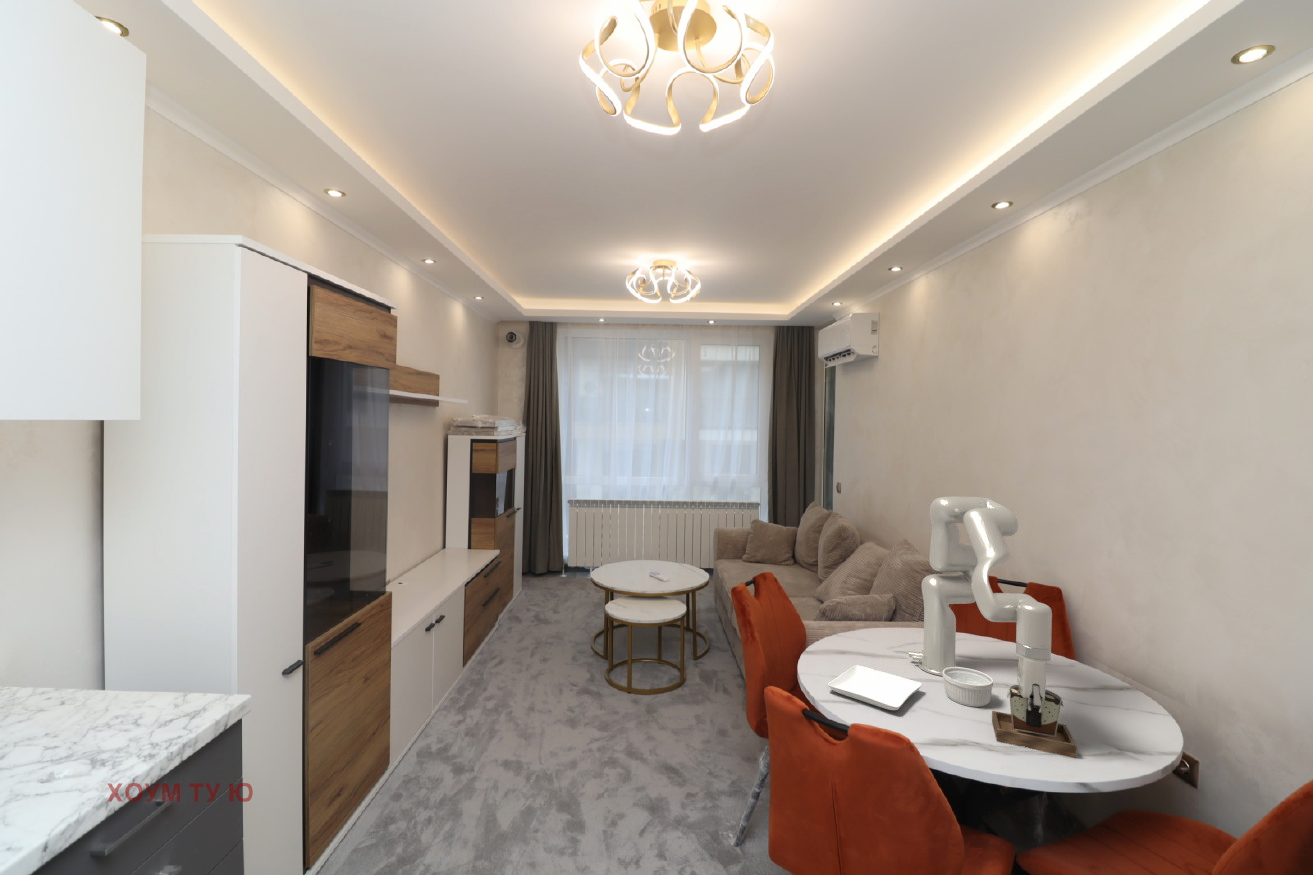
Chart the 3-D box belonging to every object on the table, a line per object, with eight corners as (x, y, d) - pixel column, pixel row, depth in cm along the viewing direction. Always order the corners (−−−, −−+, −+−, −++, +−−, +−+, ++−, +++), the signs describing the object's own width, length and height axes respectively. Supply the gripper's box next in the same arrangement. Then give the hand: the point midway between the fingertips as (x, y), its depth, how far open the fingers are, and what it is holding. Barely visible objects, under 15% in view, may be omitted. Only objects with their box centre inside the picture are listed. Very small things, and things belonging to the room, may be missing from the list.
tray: (996, 741, 144) (997, 729, 144) (991, 721, 154) (992, 710, 154) (1076, 758, 137) (1076, 745, 137) (1065, 736, 147) (1065, 724, 147)
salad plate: (825, 694, 169) (825, 683, 169) (855, 673, 185) (855, 662, 185) (897, 719, 155) (898, 707, 155) (923, 694, 171) (923, 683, 171)
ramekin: (932, 693, 171) (932, 670, 171) (962, 686, 176) (963, 663, 176) (971, 713, 159) (972, 688, 159) (1003, 705, 164) (1003, 681, 164)
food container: (1054, 726, 147) (1055, 688, 147) (1062, 738, 141) (1064, 698, 141) (1000, 717, 151) (1001, 680, 151) (1006, 728, 145) (1007, 690, 145)
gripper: (1011, 637, 155) (1009, 703, 155) (1021, 660, 139) (1019, 733, 140) (1044, 642, 152) (1042, 709, 152) (1057, 665, 136) (1055, 740, 136)
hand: (1031, 720), depth 146 cm, fingers closed on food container, 5 cm apart
